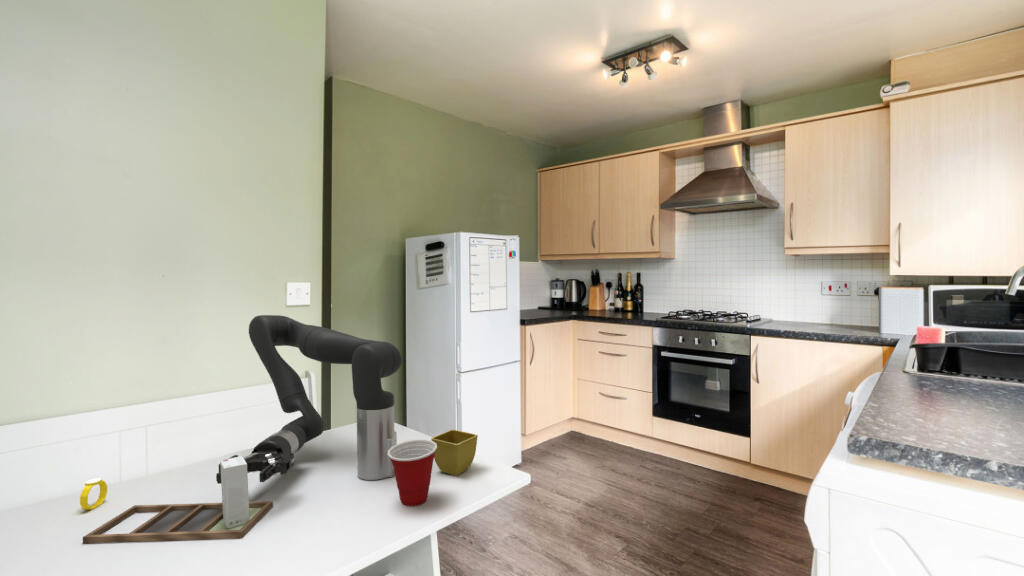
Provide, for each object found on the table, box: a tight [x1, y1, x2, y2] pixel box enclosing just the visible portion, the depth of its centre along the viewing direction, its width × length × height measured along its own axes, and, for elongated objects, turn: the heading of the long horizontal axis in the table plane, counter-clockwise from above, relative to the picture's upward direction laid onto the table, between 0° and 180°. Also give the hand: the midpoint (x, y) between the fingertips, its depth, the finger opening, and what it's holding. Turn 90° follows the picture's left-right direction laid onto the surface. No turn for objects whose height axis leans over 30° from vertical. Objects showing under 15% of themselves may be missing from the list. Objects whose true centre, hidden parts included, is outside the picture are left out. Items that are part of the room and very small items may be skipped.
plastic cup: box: [388, 438, 437, 507], centre depth 103 cm, size 11×11×12 cm
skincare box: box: [219, 455, 250, 529], centre depth 95 cm, size 6×4×12 cm
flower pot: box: [430, 429, 478, 476], centre depth 119 cm, size 9×9×9 cm
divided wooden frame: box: [82, 500, 274, 545], centre depth 94 cm, size 29×13×1 cm, turn 92°
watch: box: [79, 477, 108, 511], centre depth 102 cm, size 6×3×6 cm, turn 7°
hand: (240, 478), depth 96 cm, fingers open, 8 cm apart
